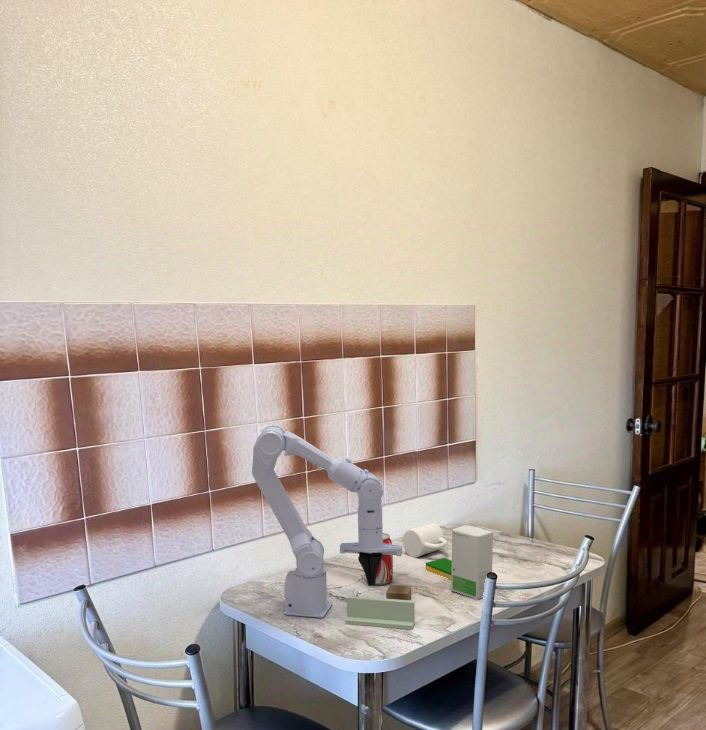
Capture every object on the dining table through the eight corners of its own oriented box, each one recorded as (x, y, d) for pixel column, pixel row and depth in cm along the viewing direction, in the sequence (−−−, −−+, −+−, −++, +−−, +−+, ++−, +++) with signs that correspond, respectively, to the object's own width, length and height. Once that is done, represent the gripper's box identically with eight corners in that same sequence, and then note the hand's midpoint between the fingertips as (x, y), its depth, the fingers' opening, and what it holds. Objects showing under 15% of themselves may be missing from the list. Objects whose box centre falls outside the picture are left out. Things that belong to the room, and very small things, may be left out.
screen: (345, 623, 139) (344, 601, 139) (348, 617, 142) (348, 595, 142) (412, 629, 135) (412, 606, 135) (414, 623, 138) (414, 600, 138)
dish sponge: (443, 565, 176) (443, 557, 176) (480, 579, 165) (480, 570, 165) (424, 571, 172) (424, 562, 172) (460, 586, 161) (460, 576, 161)
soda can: (391, 587, 160) (390, 540, 160) (363, 585, 161) (362, 539, 161) (394, 577, 167) (394, 532, 166) (368, 576, 168) (367, 531, 168)
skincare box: (450, 591, 156) (449, 529, 156) (466, 584, 161) (465, 523, 160) (479, 600, 150) (478, 535, 150) (494, 593, 155) (493, 530, 154)
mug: (402, 554, 186) (401, 527, 186) (424, 546, 193) (424, 520, 193) (433, 563, 177) (432, 535, 177) (455, 555, 184) (455, 528, 184)
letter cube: (386, 614, 144) (386, 592, 144) (390, 605, 149) (390, 584, 148) (408, 615, 142) (407, 594, 142) (411, 607, 147) (411, 585, 147)
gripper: (403, 523, 149) (405, 580, 149) (344, 520, 152) (345, 576, 153) (398, 531, 142) (400, 591, 142) (336, 529, 145) (338, 587, 146)
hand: (371, 584), depth 147 cm, fingers closed
